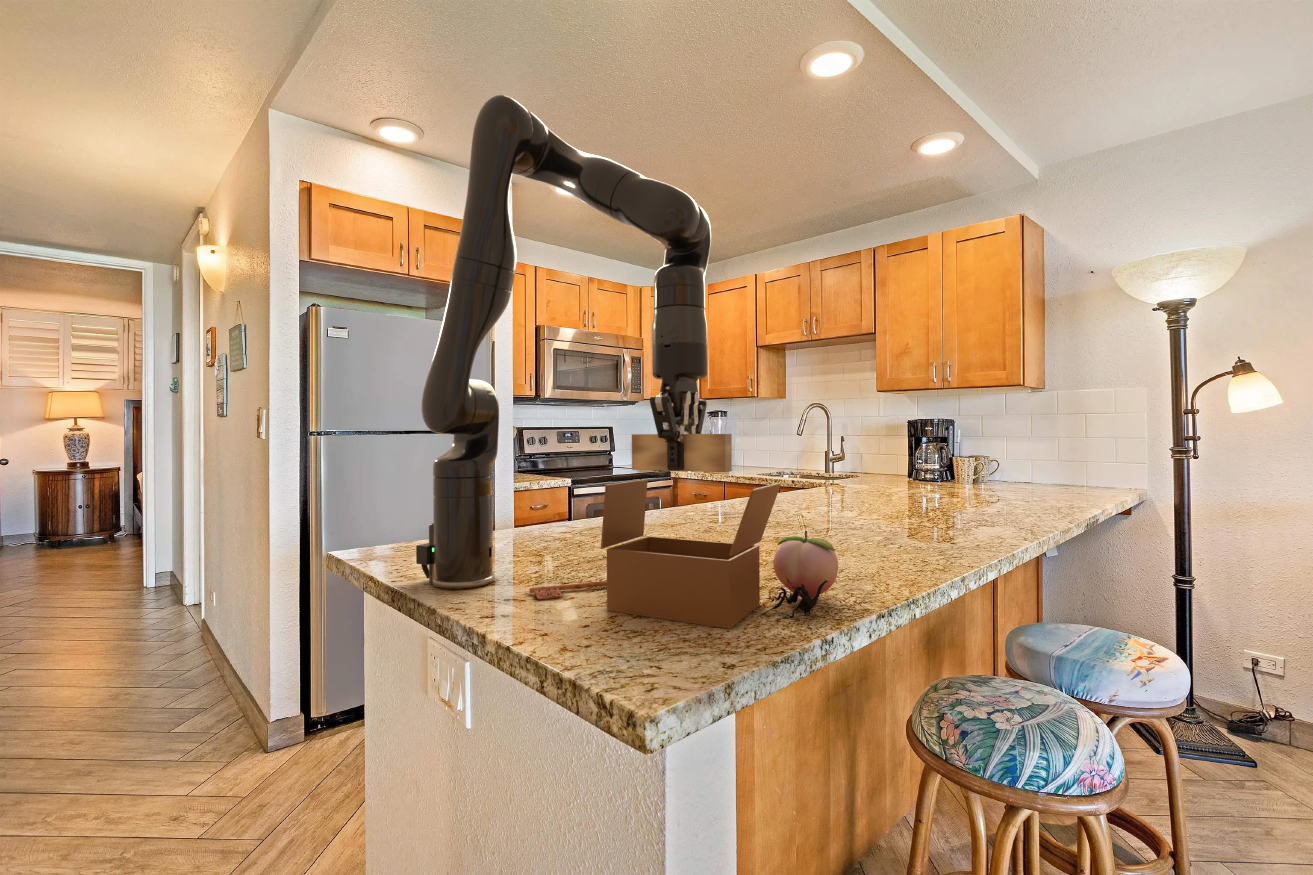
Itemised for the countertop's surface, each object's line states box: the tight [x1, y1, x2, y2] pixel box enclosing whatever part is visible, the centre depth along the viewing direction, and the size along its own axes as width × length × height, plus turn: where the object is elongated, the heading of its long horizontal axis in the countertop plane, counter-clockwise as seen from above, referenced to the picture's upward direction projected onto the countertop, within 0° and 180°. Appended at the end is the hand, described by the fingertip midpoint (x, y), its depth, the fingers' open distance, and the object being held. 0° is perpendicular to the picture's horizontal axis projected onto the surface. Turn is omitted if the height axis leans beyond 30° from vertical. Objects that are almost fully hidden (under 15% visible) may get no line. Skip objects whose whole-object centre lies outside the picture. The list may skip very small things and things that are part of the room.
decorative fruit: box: [772, 530, 839, 599], centre depth 89 cm, size 9×8×10 cm
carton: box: [600, 478, 761, 630], centre depth 85 cm, size 19×12×17 cm, turn 63°
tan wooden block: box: [631, 433, 733, 473], centre depth 84 cm, size 14×2×5 cm, turn 62°
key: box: [528, 579, 607, 600], centre depth 94 cm, size 6×1×15 cm
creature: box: [764, 577, 828, 619], centre depth 82 cm, size 8×5×8 cm
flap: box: [729, 482, 782, 556], centre depth 80 cm, size 9×12×1 cm
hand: (680, 469), depth 84 cm, fingers closed on tan wooden block, 2 cm apart
